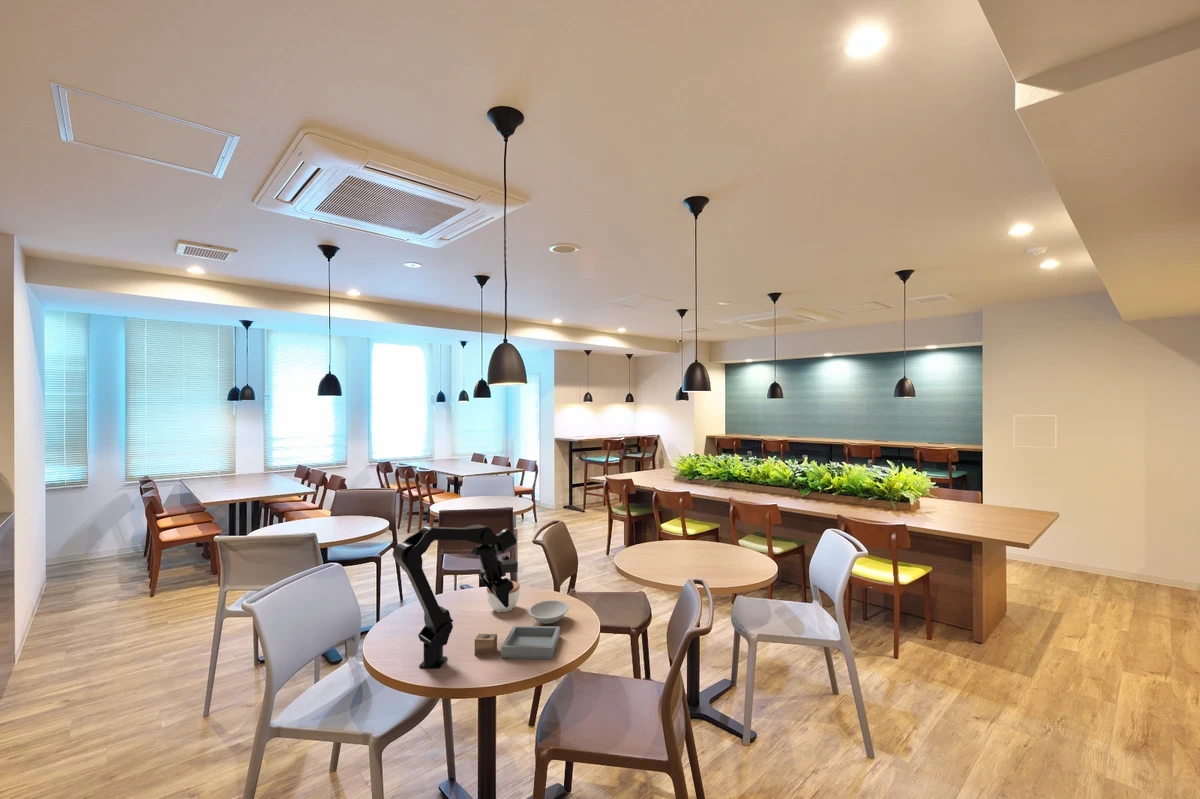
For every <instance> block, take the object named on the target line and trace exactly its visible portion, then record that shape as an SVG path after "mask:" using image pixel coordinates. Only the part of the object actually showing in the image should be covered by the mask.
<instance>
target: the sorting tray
mask: <svg viewBox="0 0 1200 799" xmlns="http://www.w3.org/2000/svg"><path fill="white" fill-rule="evenodd" d="M559 638H560V639H561V626H554V625H553V626H549V625H548V626H544V625H543V626H542V625H541V626H539V625H538V626H537V625H532V626H531V625H513V626H512V628H511V629H510V631H509V633H508V635H507V636H506V638H505V640H504V641H503V643H502V645H501V646H500V650H501V651H500V656H501V658H500V659H505V658H510V659H511V660H515V659H518V660H553V658H554V656H555V653H556V650H557V648H556V647H558V645H557V644H559V641H560V639H559ZM513 658H514V659H513Z"/></svg>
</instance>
